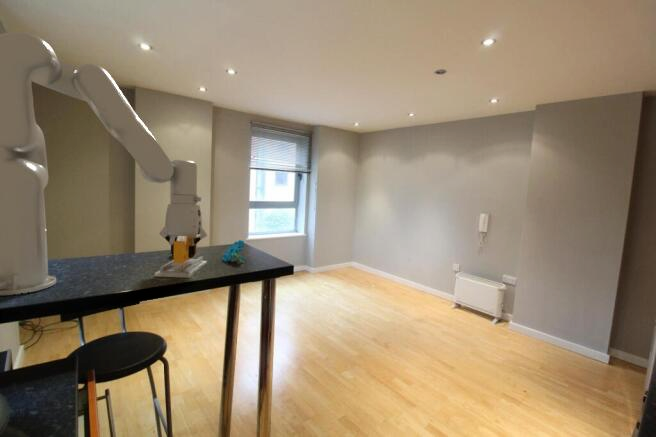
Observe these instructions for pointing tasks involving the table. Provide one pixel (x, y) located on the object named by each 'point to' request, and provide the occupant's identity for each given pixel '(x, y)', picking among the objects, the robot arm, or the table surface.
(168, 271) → the rail plate
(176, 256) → the pipe clamp
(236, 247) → the blue lumpy piece
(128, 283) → the table surface
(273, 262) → the table surface
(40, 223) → the robot arm
